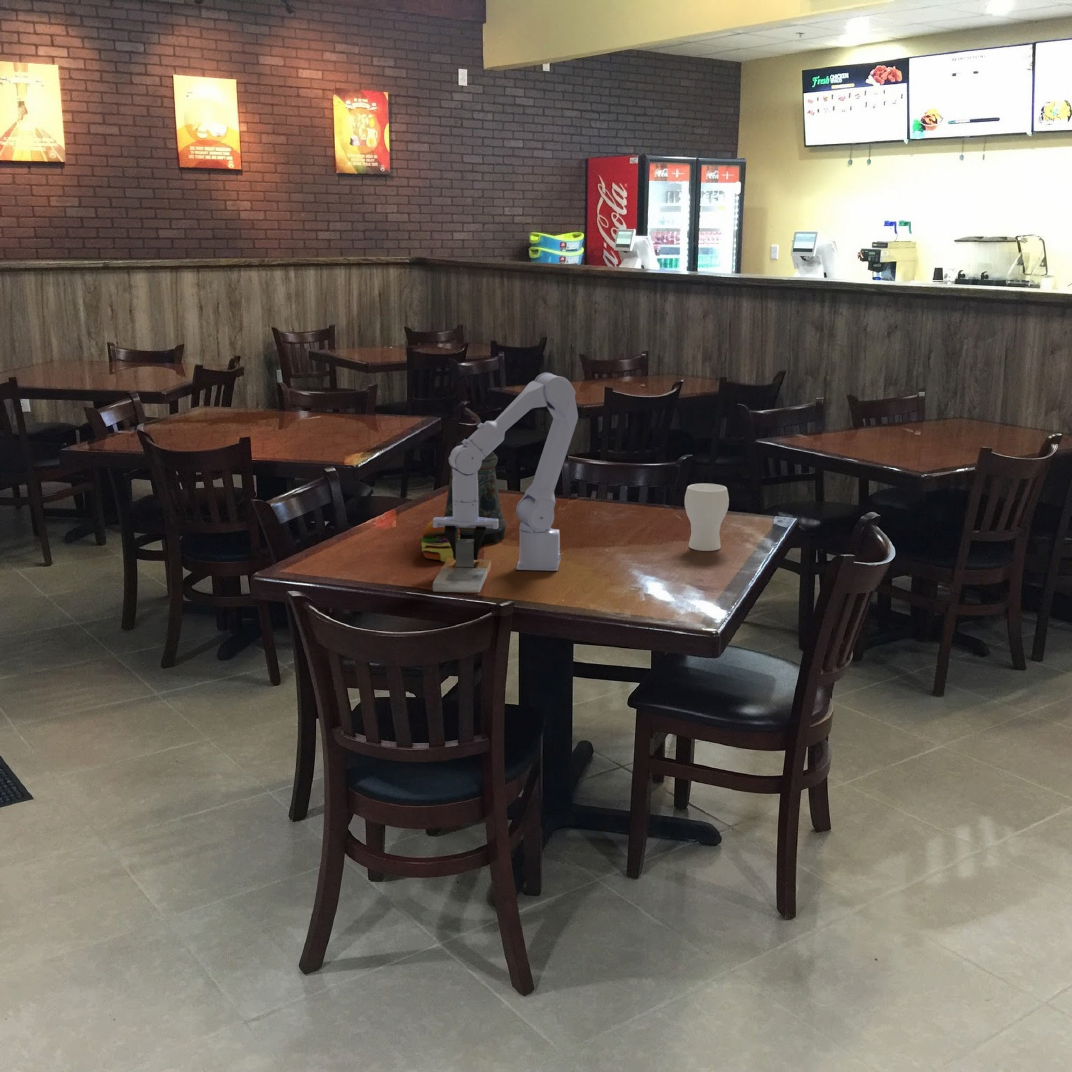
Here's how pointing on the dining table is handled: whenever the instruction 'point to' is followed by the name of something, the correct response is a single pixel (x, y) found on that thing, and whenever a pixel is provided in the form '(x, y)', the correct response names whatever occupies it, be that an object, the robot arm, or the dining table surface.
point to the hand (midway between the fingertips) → (466, 558)
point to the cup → (706, 514)
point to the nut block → (465, 553)
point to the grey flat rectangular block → (461, 577)
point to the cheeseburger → (436, 543)
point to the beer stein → (482, 501)
